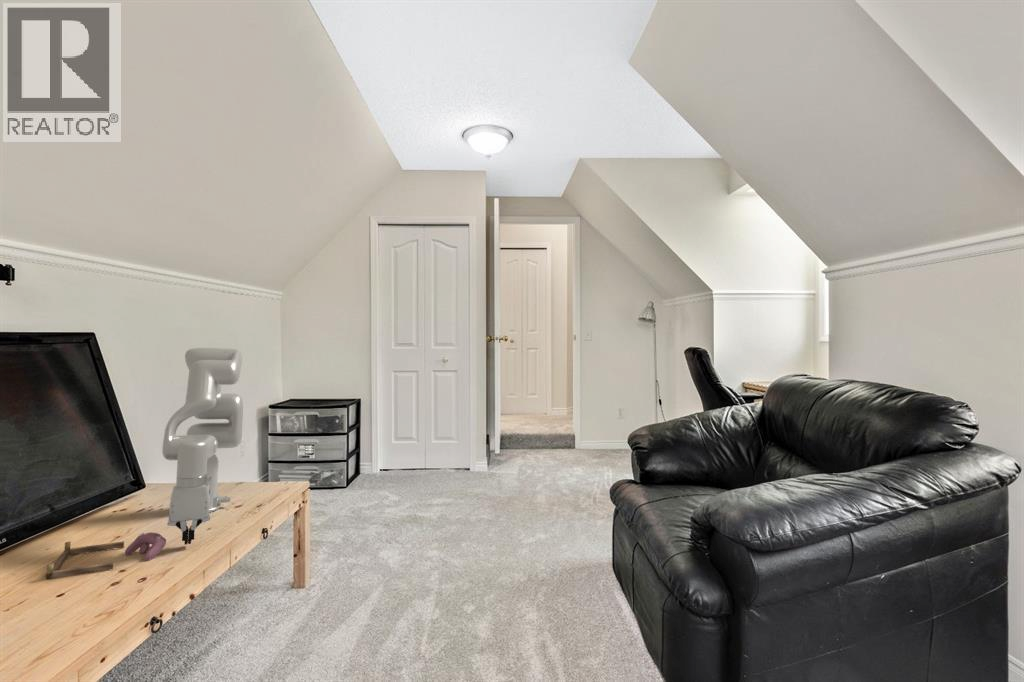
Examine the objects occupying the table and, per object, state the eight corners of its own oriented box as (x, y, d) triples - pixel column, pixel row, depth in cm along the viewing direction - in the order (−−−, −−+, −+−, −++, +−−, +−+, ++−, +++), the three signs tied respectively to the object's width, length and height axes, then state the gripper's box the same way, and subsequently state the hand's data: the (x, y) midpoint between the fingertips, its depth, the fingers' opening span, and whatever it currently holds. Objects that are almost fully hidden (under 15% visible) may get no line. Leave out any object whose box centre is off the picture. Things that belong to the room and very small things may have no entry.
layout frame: (123, 546, 142) (124, 534, 142) (112, 569, 128) (113, 556, 128) (64, 554, 135) (65, 542, 135) (45, 579, 121) (46, 566, 121)
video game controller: (160, 562, 137) (172, 536, 140) (145, 560, 133) (158, 534, 136) (136, 556, 140) (148, 530, 143) (121, 554, 136) (134, 528, 139)
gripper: (220, 475, 151) (217, 534, 150) (162, 480, 143) (158, 542, 143) (220, 482, 144) (216, 543, 144) (159, 487, 137) (155, 551, 136)
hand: (187, 542), depth 143 cm, fingers closed
